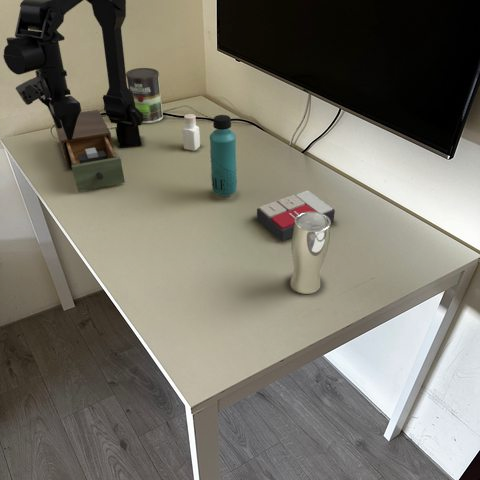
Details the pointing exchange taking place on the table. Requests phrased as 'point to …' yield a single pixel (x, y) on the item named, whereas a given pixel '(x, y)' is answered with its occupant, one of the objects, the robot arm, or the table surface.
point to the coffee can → (146, 93)
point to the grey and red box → (291, 213)
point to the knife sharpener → (92, 156)
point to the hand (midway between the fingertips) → (64, 133)
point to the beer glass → (309, 250)
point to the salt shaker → (191, 133)
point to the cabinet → (84, 131)
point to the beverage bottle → (223, 157)
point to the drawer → (95, 164)
